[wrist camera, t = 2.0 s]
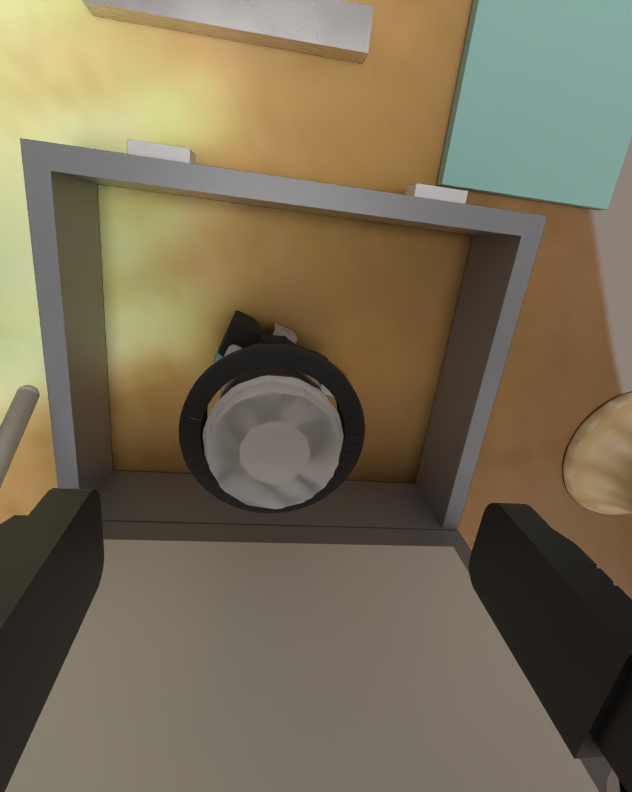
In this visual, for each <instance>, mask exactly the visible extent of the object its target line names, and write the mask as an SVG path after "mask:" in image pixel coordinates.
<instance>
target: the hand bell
mask: <svg viewBox="0 0 632 792" xmlns="http://www.w3.org/2000/svg"><path fill="white" fill-rule="evenodd" d="M563 478H564V483H565V486H566V489H567V491H568V493H569V494H570V496H571V497H572V498H573V499H574V500H575V501H576V502H577V503H578V504H579V505H581V506H582V507H584V508H586V509H589V510H591V511H595V512H598V513H603V514H610V515H621V514H629V513H630V514H632V392H627V393H624V394H621V395H619V396H617V397H616V398H614V399H612V400H610V401H608V402H606V403H605V404H604V405H602V406H601V407H599V408H598V409H597V410H596V411H594V412H593V413H592V414H591V415H590V416H589V417H588V418H587V419H586V420H585V421H584V422H583V423H582V424H581V426H580V427H579V428H578V429H577V431H576V432H575V434H574V435H573V437H572V439H571V441H570V443H569V445H568V448H567V451H566V454H565V457H564V463H563Z"/></svg>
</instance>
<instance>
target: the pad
mask: <svg viewBox="0 0 632 792" xmlns="http://www.w3.org/2000/svg"><path fill="white" fill-rule="evenodd" d="M631 138H632V0H473V4H472V9H471V14H470V19H469V24H468V29H467V35H466V40H465V45H464V50H463V55H462V60H461V65H460V70H459V75H458V80H457V85H456V90H455V95H454V100H453V105H452V110H451V115H450V120H449V126H448V131H447V136H446V141H445V146H444V151H443V156H442V161H441V166H440V171H439V176H438V181H437V186H443V187H449V188H456V189H462V190H469V191H475V192H482V193H488V194H495V195H502V196H508V197H515V198H521V199H528V200H534V201H541V202H547V203H554V204H561V205H567V206H574V207H580V208H587V209H593V210H607V209H608V207H609V204H610V201H611V198H612V195H613V192H614V189H615V186H616V183H617V180H618V177H619V174H620V171H621V168H622V165H623V162H624V159H625V156H626V153H627V150H628V147H629V143H630V140H631Z"/></svg>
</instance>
